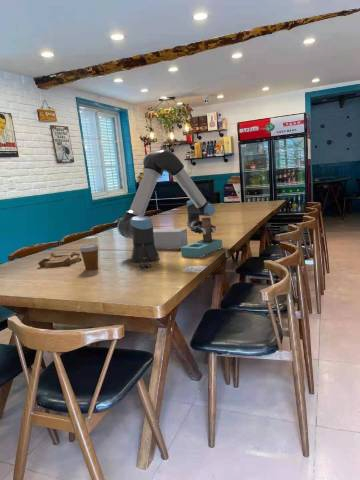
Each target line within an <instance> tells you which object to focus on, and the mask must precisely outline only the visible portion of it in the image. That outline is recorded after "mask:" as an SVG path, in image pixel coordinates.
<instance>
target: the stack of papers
mask: <svg viewBox="0 0 360 480" xmlns="http://www.w3.org/2000/svg"><path fill="white" fill-rule="evenodd" d="M153 233H154V244H155V247H156V249H163V250H165V249H168V250H169V249H171V250H172V249H175V250H176V249H179V248H181V247H183V246H186V245H189V242H188V230H187V228H153Z"/></svg>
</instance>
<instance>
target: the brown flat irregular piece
mask: <svg viewBox="0 0 360 480" xmlns="http://www.w3.org/2000/svg"><path fill="white" fill-rule="evenodd" d="M80 256H81V252H76V251H75V252H74V251H73V252H72V253H65V254H64V253H63V254H56V253H55V252H51V253H50V254H49V256H46V257H44V258H43V259H41V260H40V261H38V263H37V264H38V266H39V267H40V268H41V269H43V268H46V269H48V268H62V267H68V266H72V265H75V264H77V263H79V262H80V261H82V257H80Z"/></svg>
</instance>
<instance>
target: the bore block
mask: <svg viewBox="0 0 360 480" xmlns="http://www.w3.org/2000/svg"><path fill="white" fill-rule="evenodd" d="M221 247H223V239H215V238H212V242H210V243H204V242H203V239H201V240H198V241H195V242H192V243H188V245H186V246H183V247H181V249H180V252H181V254H180V255H181V257H185V256H188V257H187V258H196V257H200V258H202V257H201V256H203V255H205V256H207V255H209V254H208V253H210V252H212V251H215V250H217V249H219V248H221ZM219 250H220V249H219ZM217 251H218V250H217ZM215 252H216V251H215ZM212 253H213V252H212ZM206 254H207V255H206ZM210 254H211V253H210ZM203 257H204V256H203Z"/></svg>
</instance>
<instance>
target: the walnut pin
mask: <svg viewBox="0 0 360 480" xmlns="http://www.w3.org/2000/svg"><path fill="white" fill-rule="evenodd" d="M201 221H202V228H203V229H205V230H206V234H203V233H202V240H203V242H204V243H210V242H212V239H213V236H212V235H213V233H212V232H211V225H212V221H211V217H210V216H206V217H202V218H201Z"/></svg>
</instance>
